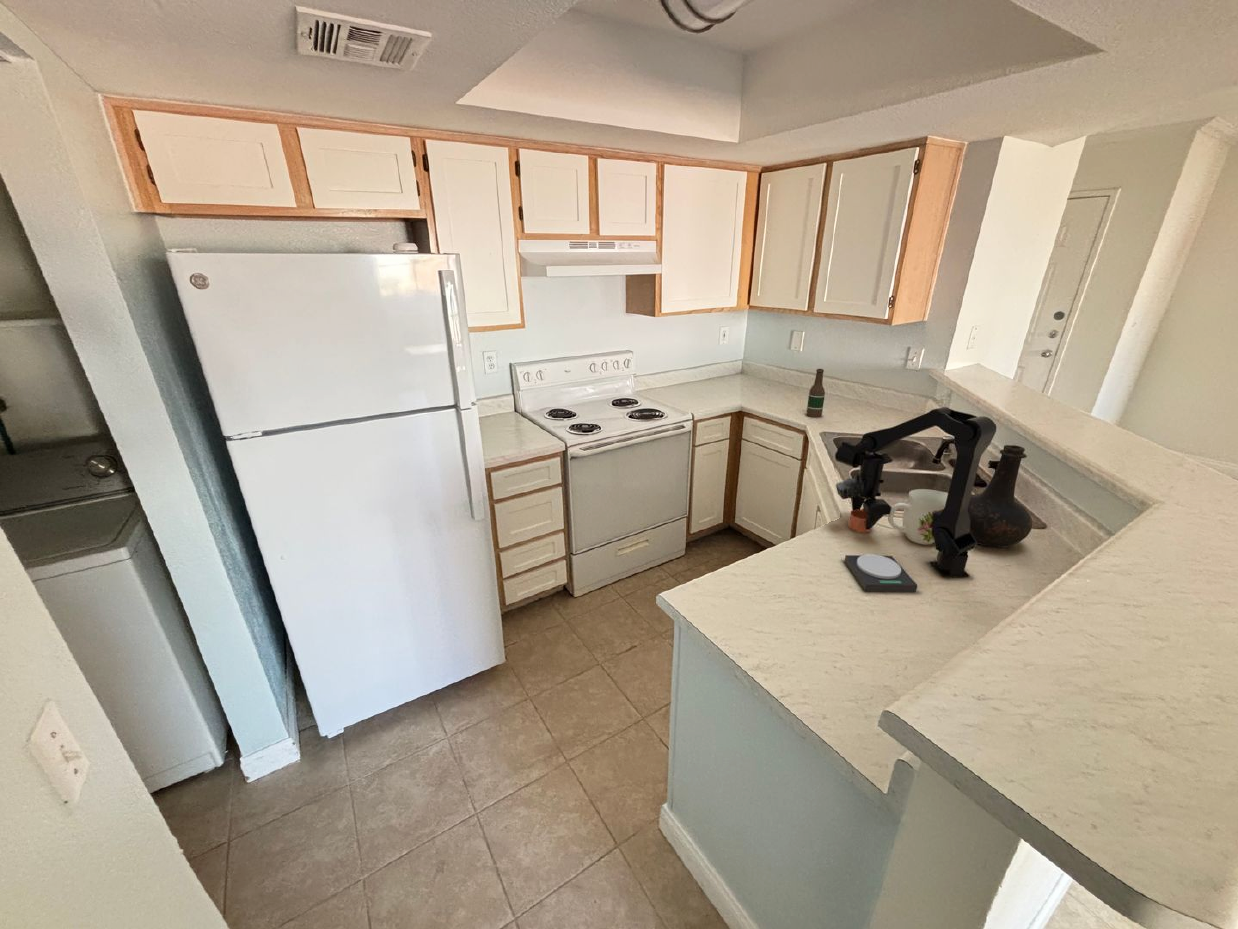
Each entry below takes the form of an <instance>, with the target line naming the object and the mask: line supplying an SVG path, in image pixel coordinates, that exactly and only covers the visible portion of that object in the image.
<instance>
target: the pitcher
mask: <svg viewBox="0 0 1238 929" xmlns="http://www.w3.org/2000/svg"><path fill="white" fill-rule="evenodd" d="M947 495H948V492H945V491H940V490H936V489H926V488H918V489H916V488H915V489H912V490H910V491H909V492H908V502H907V503H904V502H897V503H895V504H894V505H892V506H891V507H892V508H891V512H890V514H887V520H888V524H889V525H890V526H891V527H892V528H893V529H894V530H896V531H899V532H902V533H905V535H906V538H908V540H910V541H911V542H913V543H916V544H919V545H932V544H933V543H935V540H934V537H933V536H932V534H931V529H932V528H930V527H929V526H930V525H931V523H932V516H933V513H935V512H937V511H940V510H942V509H944V507H945V504H946V499H947ZM901 508H903V512H902V520H901V521H902V525H898V524H897V523H895V520H894V514H895V512H896V511H897V510H898V509H901Z"/></svg>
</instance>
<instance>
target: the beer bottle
mask: <svg viewBox="0 0 1238 929" xmlns="http://www.w3.org/2000/svg"><path fill="white" fill-rule="evenodd" d="M815 371H816V373H815V378H814V382H813V385H812V386H811V387H810V389H809V392H808V398H807V399H808V400H807V405H806V416H807V417H809V418H816V419H817V418H822V415H823V409H824V403H825V394H826V391H825V388H824V386H823V380H824V372H825V370H824V368H817V369H816V370H815Z"/></svg>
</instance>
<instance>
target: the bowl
mask: <svg viewBox="0 0 1238 929" xmlns="http://www.w3.org/2000/svg"><path fill="white" fill-rule="evenodd" d="M847 524H848V527H849V529H850V530H852V531H854V532H857V533H863V534H864V533H870V532H871V531H872V530H873V527H872V528H871V529H870V530H866V513H865V512H864V511H863V510H862V509H861V508H860V509H856V510H852V509H851V511H850V513H849V518H848V523H847Z"/></svg>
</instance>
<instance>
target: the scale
mask: <svg viewBox="0 0 1238 929" xmlns="http://www.w3.org/2000/svg"><path fill="white" fill-rule="evenodd" d="M844 563H845V565H846V566H847V568H848V569H849V571H850V572H851V574H852V575H853V577H854V578H855V579H856V581H857V582H858V584H859V585H860V587H861V588H862V590H863V591H864V592H880V593H881V592H882V593H883V592H884V593H885V592H886V593H888V592H892V593H893V592H894V593H916V592H917V588H918V584H917V583H916V581H914V579H913V578H912V577H911V576H910V575H909V574H908V572H907V571H906V570H905V569H904V568H903V566H902V565H901V564H900V563H899V562H898V561H897V560H896V559H895V557H894V556H893V555H879V554H871V553H867V554H861V555H860V554H859V555H856V554H855V555H854V554H852V555H851V554H845V556H844Z"/></svg>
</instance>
